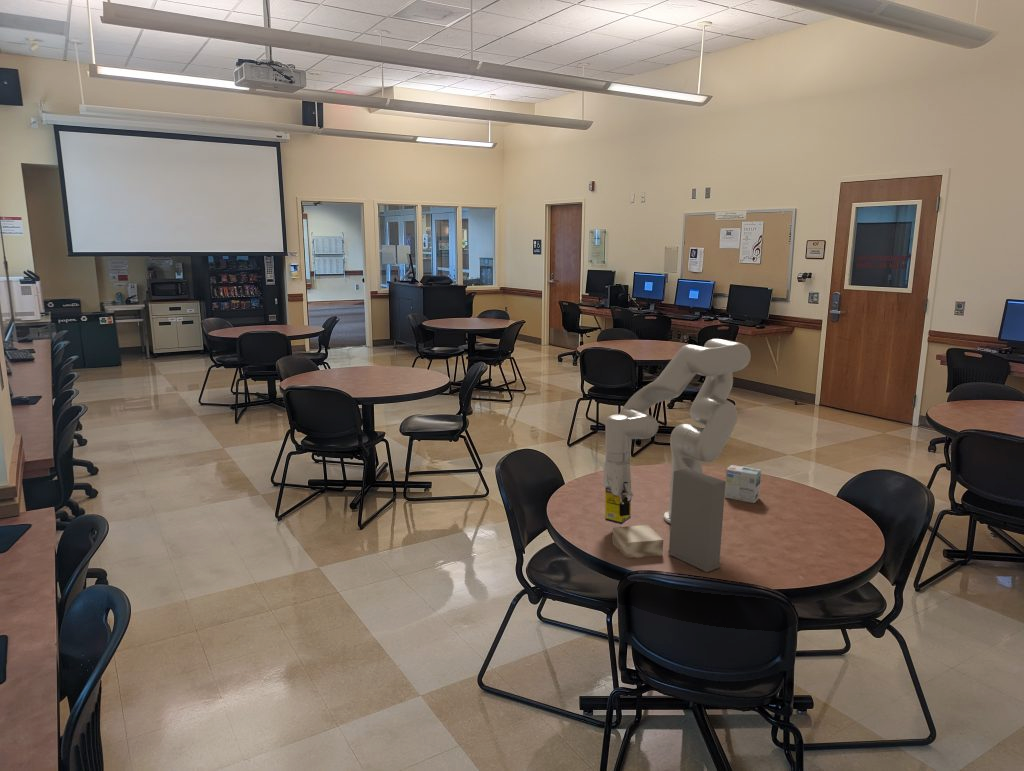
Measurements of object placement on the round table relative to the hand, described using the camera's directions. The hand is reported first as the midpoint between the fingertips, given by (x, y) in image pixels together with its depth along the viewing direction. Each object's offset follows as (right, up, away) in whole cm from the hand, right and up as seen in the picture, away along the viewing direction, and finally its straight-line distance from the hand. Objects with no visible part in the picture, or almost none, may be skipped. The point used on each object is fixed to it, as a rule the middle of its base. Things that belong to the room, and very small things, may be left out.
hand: (617, 509), depth 212 cm
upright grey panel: (+19, -11, -18) cm, 28 cm away
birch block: (+4, -10, -11) cm, 15 cm away
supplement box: (0, -3, +1) cm, 3 cm away
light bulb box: (+49, -2, +32) cm, 58 cm away
